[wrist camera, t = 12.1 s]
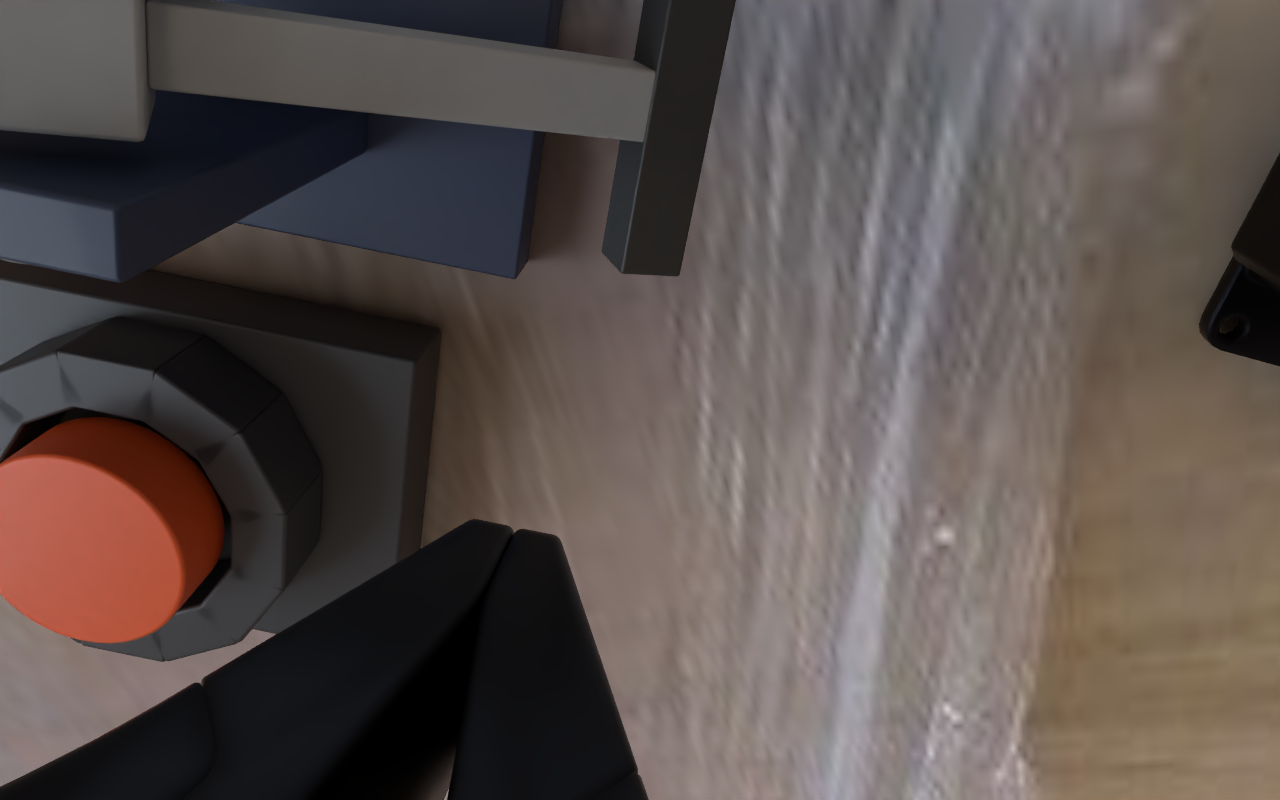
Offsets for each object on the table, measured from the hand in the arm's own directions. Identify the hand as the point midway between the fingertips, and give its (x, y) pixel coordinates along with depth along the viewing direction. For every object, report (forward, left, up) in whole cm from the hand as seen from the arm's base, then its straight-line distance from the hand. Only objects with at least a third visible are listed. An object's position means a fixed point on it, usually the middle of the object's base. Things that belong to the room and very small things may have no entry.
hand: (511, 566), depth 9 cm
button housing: (+9, +8, -13) cm, 18 cm away
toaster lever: (+5, -3, -8) cm, 10 cm away
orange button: (+9, +8, -9) cm, 15 cm away
